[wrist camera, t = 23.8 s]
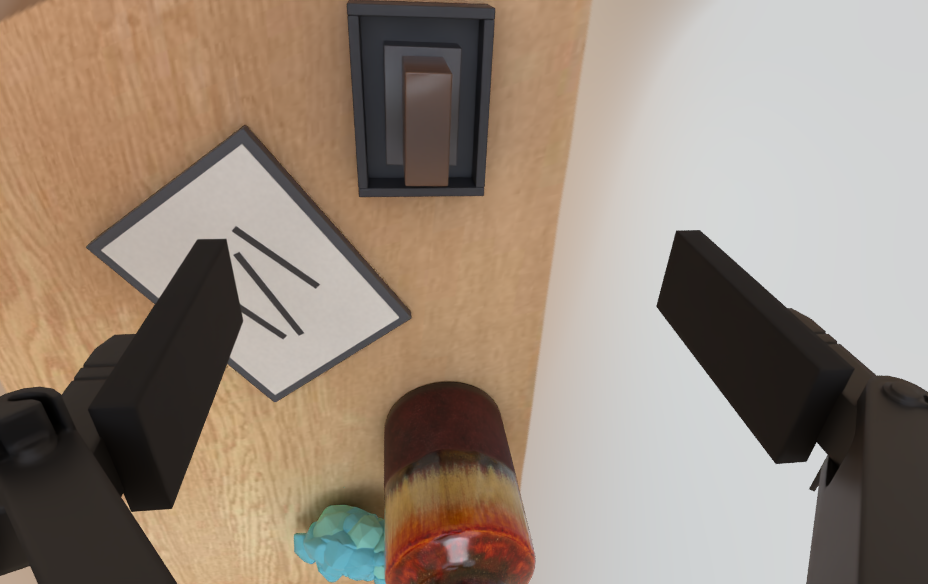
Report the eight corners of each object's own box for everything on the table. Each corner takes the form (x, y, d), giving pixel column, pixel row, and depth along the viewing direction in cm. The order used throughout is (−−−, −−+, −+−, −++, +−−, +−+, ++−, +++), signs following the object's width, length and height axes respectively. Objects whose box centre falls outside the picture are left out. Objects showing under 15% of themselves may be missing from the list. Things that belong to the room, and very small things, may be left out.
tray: (349, -1, 32) (346, 3, 30) (488, 4, 33) (495, 8, 31) (360, 183, 38) (359, 197, 36) (478, 182, 39) (484, 196, 37)
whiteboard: (91, 241, 38) (83, 248, 37) (245, 124, 35) (242, 128, 34) (276, 395, 47) (274, 404, 46) (411, 312, 44) (411, 319, 43)
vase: (503, 456, 54) (558, 692, 37) (393, 473, 54) (398, 721, 36) (497, 372, 48) (559, 605, 31) (375, 390, 48) (369, 638, 31)
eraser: (383, 40, 33) (383, 60, 27) (458, 43, 34) (473, 63, 28) (386, 155, 37) (386, 194, 31) (453, 156, 37) (466, 195, 31)
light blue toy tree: (452, 471, 60) (352, 483, 48) (464, 560, 57) (361, 597, 45) (378, 483, 66) (272, 497, 53) (386, 566, 63) (275, 600, 51)
